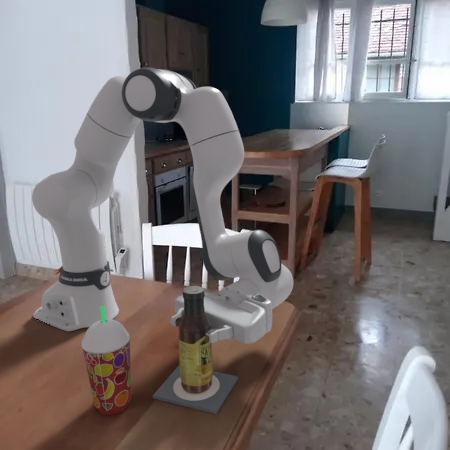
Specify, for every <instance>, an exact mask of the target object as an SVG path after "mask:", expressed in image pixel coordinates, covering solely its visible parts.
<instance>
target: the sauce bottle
mask: <svg viewBox="0 0 450 450" xmlns="http://www.w3.org/2000/svg"><path fill="white" fill-rule="evenodd" d="M204 291H205V289H204V287H202V286H199V285H190V286H187V287H184V288H183V289H182V295H183V298H184V314H183V316H182V317H181V319H180V321H179V326H178V353H179V358H178V359H179V365H180V379H181V385H182V387H183V389H184V390H185V391H187V392H189V393H202V392H204V391H206V390H208V389H209V388H210V386H211V385H212V377H213V372H212V371H213V343H210V342H208V341H206V336H205V334H206V332H208V331H210V330H211V326H210V323H209V321H208V318H207V316H206V313H205V311H204V310H205V308H204V296H205V293H204Z"/></svg>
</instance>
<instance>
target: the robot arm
mask: <svg viewBox="0 0 450 450" xmlns="http://www.w3.org/2000/svg"><path fill="white" fill-rule="evenodd" d="M141 121H145V122H150V123H151V122H152V123H153V122H154V123H162V124H166V123H171V122H175V123H177V124H179V125H180V126H181V128H182V129H183V131H184V133H185V136H186V139H187V141H188V146H189V148H190V151H191V155H192V161H193V162H192V164H193V175H192V178H191V192H192V198H193V203H194V207H195V213H196V214H195V215H196V218H197V223H198V227H199V232H200V237H201V238H200V239H201V245H202V247H201V248H202V249H201V250H202V263H203V265H204V268H205V270H206V271H207V273H208V274H209V275H210V276H211V278H213V279H214V280H217V281H222V282H223V281H224V282H225V281H228V280H232V279H235V278H236V279H237V278H238V280H236V281H235V282H233V283H230V284H229V285H226V286H224V287H223V288H221V289H220V291H219V292H218V294H216V293H213V292H210V291H207V290H204V293H205V296H204V308H205V310H204V311H205V313H206V316H207V318H208V321H209V323H210V326H211V330H210V331H208V332H206V334H205V336H206V341H208V342H210V343H212V344H214V343H216V342H217V341H224V340H230V339H233V340H235V341H237V342H239V343H242V344H244V345H248V344H249V345H250V344H253V343H255V342H257V341H258V340H260V339H261V338H262V337H264V336H265V335H266V334H267V333H270V332H271V331H272V327H273V309H275V308H276V307H278V306H279V305H281V304H282V303H283V302H284V301H285V300H286V299H288V297H289V296H290V294H291V293H292V290H293V288H294V277H293V274H292V272H291V271H290V269H288V267H286V266H285V265H284V264H283V263H282V258H281V254H280V250H279V246H278V244H277V243H276V241H275V239H274V238H273V237H272V236H271V235H270V234H269V233H268V232H266V231H264V230H262V229H256V230H251V231H246V232H241V233H238V234H232V235H229V234H228V233H227V231H226V227H225V222H224V221H225V220H224V217H223V211H222V207H221V206H222V205H221V195H222V192H223V190H224V188H225V187H226V186H227V185H228V184H229V182H230V181H231V180H232V179H233V178H234V177H236V176H237V174H238V173H239V171H240V169H241V167H242V166H243V163H244V160H245V148H244V147H245V146H244V143H243V139H242V137H241V133H240V130H239V128H238V125H237V122H236V120H235V118H234V115H233V112H232V110H231V108H230V106H229V104H228V102H227V100H226V98H225V96H224V95H223V93H222V92H221V91H220V90H219V89H217V88H215V87H213V86H201V87H197V86H196V85H195V83H194V82H193V81H192V80H191V79H189V77H187V76H186V75H183V74H180V73H177V72H175V71H173V70H168V69H159V68H155V67H151V66H150V67H141V68H137V69H136V70H135V69H134V71H131V72H130V73H129V74H128V75H127V76H126V77H125V76H121V75H120V76H117V75H116V76H113V77H111V78H109V79H108V80H107V81H106V82H105V84H104V85H102V88H101V89H100V90H99V92H98V93H97V94H96V96H95V98H94V99H93V101H92V103H91V105H90V107H89V109H88V111H87V113H86V114H85V117H84V119H83V121H82V123H81V126H80V127H79V129H78V131H77V134H76V136H75V138H74V141H73V142H74V148H75V150H76V151H75V156H74V157H75V158H74V160H73V164H71V166H70V167H69V168H68V169H65V170H61V171H59V172H56V173H52V174H50V175H48V176H46V177H45V178H44V179H42V180H41V181H39V182H38V183H37V184H36V185H35V187H34V188H33V189H32V193H31V201H32V205H33V208H34V209H35V211H36V212H37V214H38V215H39V216H41V217H42V218H43V219H45V220H47V221H48V223H49V224H50V225H51V227H52V229H53V231H54V233H55V235H56V239H57V241H58V246H59V252H60V258H61V266H60V267H59V268H57V269H55V270H54V272H55V273H54V275H57V274H59V275H58V280H56V282H54V283H53V284H52V285H51V286H49V287H48V288H47V289H46V290H45V292H43V294H42V296H41V306H40V307H39V308H37V309H36V311H34V313H33V317H34V318H36V319H39V320H41V321H43V322H42V323H44V322H45V324H46V323H47V325H49V324H50V326H52V327H54V328H57V329H59V330H63V331H65V332H72V331H76V330H79V329H80V330H81V329H85V328H89V327H90V326H91V325H92V324H93V323H95V322H96V321H99V320H101V319H102V318H101V309H100V307H101V306H104V311H105V319H113V320H114V319H115V318H116V317H117V316H118V315H119V313H120V309H119V305H118V304H117V302H116V299H115V296H114V292H113V288H112V283H111V267H110V262H109V260H108V256H107V246H106V237H105V233H104V232H103V231H102V230H101V229H100V228H98V227H97V225H96V222H95V221H94V217H93V215H92V210H93V209H94V208H97V207H99V206H101V205H103V203H105V202H106V201H107V200H108V199H109V197H110V196H112V194H113V191H114V187H115V183H114V182H115V181H114V177H115V174H116V171H117V168H118V165H119V162H120V159H121V158H122V156H123V155H124V152H125V150H126V149H127V147H128V144H129V143H130V141H131V138H133V137H132V136H133V135H134V133H135V130H136V129H137V128H138V125H139V124H140V123H141ZM174 311H175V314H174V315H172V316H171V317H170V325H171V326H173V327H176V328H179V321H180V319H181V317H182V316H183V314H184V298H183V294H181V295H179V296H177V297H176V298H175V299H174ZM33 317H32V318H33ZM34 318H33V319H34ZM36 319H35V320H36ZM39 320H38V321H39ZM41 321H40V322H41Z"/></svg>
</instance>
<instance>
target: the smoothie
mask: <svg viewBox="0 0 450 450" xmlns="http://www.w3.org/2000/svg"><path fill="white" fill-rule="evenodd" d="M100 309H101V318H102V319H101V320H99V321H96V322H95V323H93V324H92V325H91V326H90V327H87V330H86V332H85V334H84V337H83V338H82V340H81V343H80V344H81V348H82V353H83V356H84V362H85V363H84V364H85V367H86V372H87V377H88V382H89V386H90V391H91V397H92V401H93V405H94V408H96V409H97V411H98V412H99V413H100V414H103V415H106V416H112V415H116V414H120V413H121V412H123V411H125V410H126V409H127V408H128V406H129V404H130V401H131V400H132V373H131V371H132V369H131V340H130V339H131V334H130V333H129V331H127V329H126V327H124V325H123V324H122V323H120V322H119V321H118V320H116V319H114V318H113V319H105V311H104V306H101V307H100Z"/></svg>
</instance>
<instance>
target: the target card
mask: <svg viewBox="0 0 450 450" xmlns="http://www.w3.org/2000/svg"><path fill="white" fill-rule="evenodd" d="M212 372H213V377H212V385H211V386H210V388H209V389H208V390H206V391H204V392H202V393H189V392H187V391H185V390H184V389H183V387H182V385H181V379H180V364H178V366H177V367H176V368H175V369H174V370H173V372H172V373H171V374H170V375H169V376H168V377H167V379H166V380H164V382H163V383H162V384H161V386H160V387H159V388H158V389H157V390H156V391H155V392H154V393H153V394H152V399H153V400H158V401H162V402H167V403H170V404H175V405H178V406H182V407H187V408H189V409H195V410H199V411H202V412H206V413H210V414H213V415H217V413H218V412H219V410H220V409H221V407H222V406H223V404H224V402H225V400H227V397H228V396H229V394H230V392H231V391H232V390H233V387H234V386H235V384H236V382H237V381H238V379H239V377H238V376H237V375H234V374H233V375H232V374H227V373H224V372H223V373H222V372H218V371H215V370H212Z"/></svg>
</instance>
